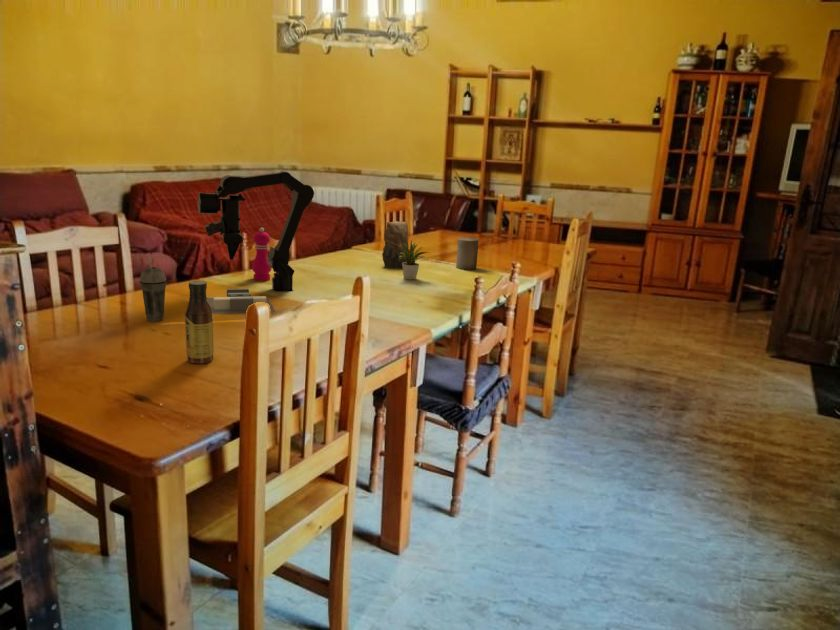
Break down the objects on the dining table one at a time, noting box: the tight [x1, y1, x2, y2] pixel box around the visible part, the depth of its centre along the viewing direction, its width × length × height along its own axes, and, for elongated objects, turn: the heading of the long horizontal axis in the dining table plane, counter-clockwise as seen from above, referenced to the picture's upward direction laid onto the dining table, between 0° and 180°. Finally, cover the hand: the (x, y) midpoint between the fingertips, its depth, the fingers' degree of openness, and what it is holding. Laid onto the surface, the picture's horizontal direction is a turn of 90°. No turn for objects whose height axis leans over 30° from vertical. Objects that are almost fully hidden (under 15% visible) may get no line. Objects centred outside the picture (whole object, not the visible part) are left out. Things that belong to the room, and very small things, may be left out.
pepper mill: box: [251, 227, 272, 282], centre depth 241 cm, size 7×7×20 cm
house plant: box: [395, 239, 430, 280], centre depth 259 cm, size 14×14×16 cm
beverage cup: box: [139, 252, 168, 323], centre depth 181 cm, size 7×7×20 cm
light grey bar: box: [213, 295, 267, 309], centre depth 200 cm, size 16×3×3 cm, turn 111°
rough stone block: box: [381, 220, 410, 270], centre depth 285 cm, size 13×13×20 cm
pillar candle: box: [455, 236, 480, 271], centre depth 291 cm, size 10×10×15 cm
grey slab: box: [206, 288, 276, 315], centre depth 203 cm, size 20×20×4 cm
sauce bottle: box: [184, 279, 214, 365], centre depth 151 cm, size 7×6×20 cm
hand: (231, 259), depth 216 cm, fingers closed
